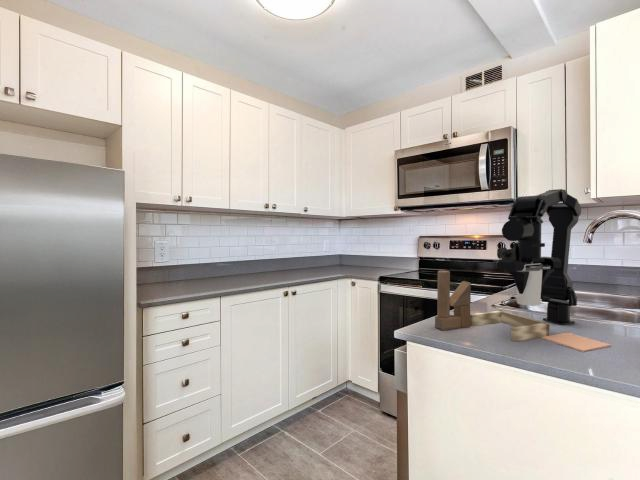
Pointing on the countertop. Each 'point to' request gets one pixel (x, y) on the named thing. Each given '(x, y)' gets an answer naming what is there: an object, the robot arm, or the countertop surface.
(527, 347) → the countertop surface
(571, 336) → the terracotta mat
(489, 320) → the beige angled bar
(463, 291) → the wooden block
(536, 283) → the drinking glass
